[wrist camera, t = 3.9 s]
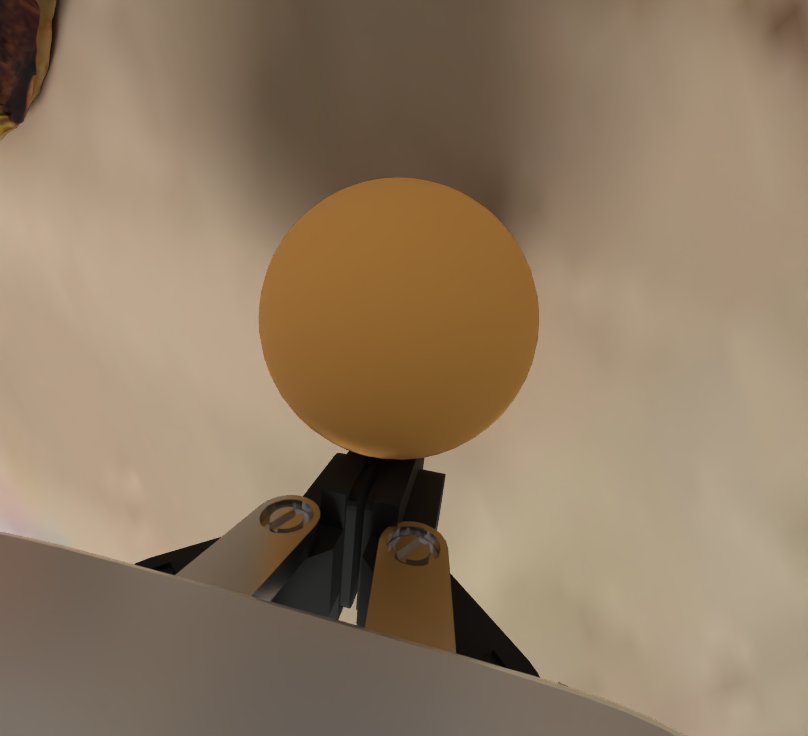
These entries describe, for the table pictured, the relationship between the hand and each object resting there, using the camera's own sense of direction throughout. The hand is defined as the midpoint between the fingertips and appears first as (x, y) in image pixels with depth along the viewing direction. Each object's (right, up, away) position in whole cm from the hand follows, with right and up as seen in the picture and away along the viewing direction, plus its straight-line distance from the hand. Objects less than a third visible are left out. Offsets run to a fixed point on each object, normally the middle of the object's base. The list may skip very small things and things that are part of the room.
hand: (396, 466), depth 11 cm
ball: (0, +4, -3) cm, 5 cm away
